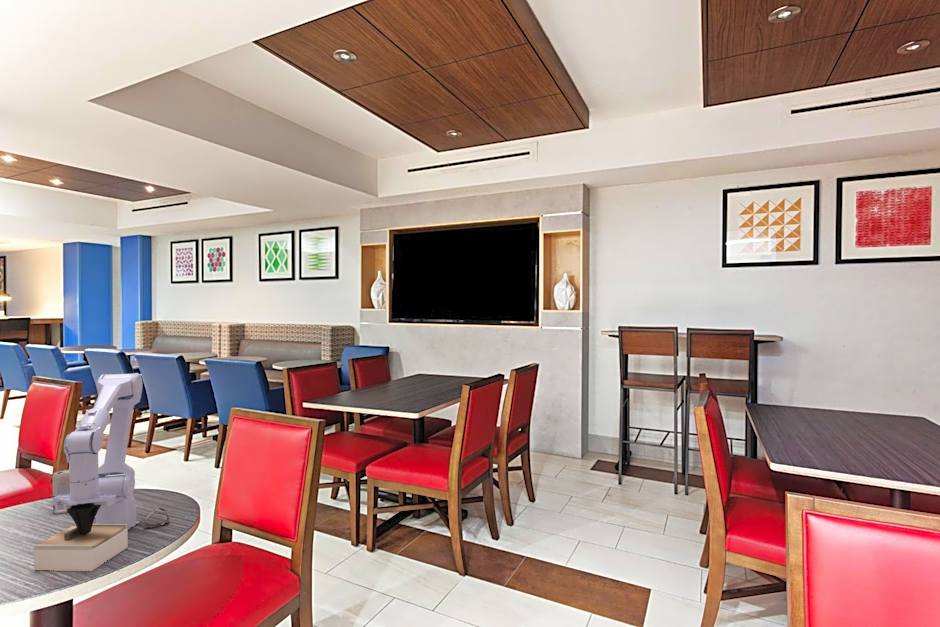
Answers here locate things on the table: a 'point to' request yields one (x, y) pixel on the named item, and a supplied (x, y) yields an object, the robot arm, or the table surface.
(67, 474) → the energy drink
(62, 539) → the lid
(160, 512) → the wristwatch
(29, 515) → the table surface
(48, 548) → the box
